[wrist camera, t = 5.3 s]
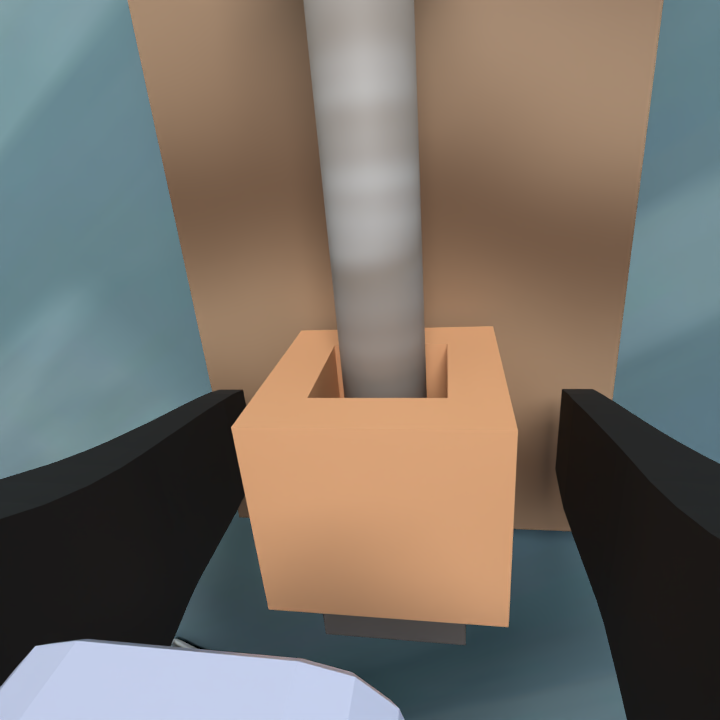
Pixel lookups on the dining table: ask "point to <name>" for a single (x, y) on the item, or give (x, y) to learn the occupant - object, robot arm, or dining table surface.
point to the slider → (384, 485)
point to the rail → (477, 188)
